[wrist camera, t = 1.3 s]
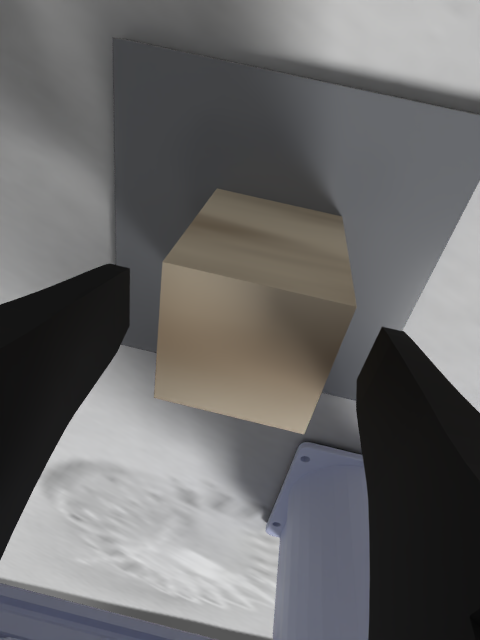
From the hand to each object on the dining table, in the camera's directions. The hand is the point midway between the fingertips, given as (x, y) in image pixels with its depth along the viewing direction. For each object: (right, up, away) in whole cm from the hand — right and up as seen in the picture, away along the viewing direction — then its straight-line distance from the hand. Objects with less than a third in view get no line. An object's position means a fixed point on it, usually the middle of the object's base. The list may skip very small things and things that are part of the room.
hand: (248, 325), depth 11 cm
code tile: (+1, +3, +4) cm, 5 cm away
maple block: (+1, +3, +4) cm, 5 cm away
